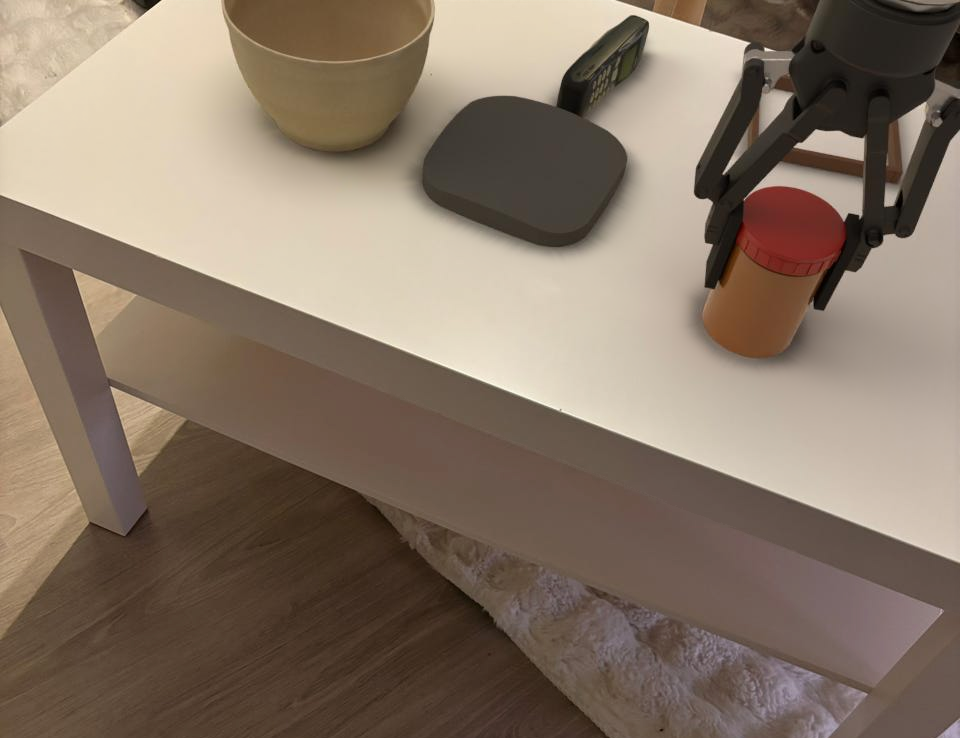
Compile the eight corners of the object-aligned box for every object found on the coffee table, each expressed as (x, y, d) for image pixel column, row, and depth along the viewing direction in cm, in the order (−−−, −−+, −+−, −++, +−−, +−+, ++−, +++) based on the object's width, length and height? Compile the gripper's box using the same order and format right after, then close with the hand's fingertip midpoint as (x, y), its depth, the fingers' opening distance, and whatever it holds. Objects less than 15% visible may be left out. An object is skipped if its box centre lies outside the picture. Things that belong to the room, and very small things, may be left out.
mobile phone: (586, 88, 85) (665, 6, 92) (555, 74, 86) (635, -6, 93) (576, 138, 89) (652, 56, 96) (547, 125, 90) (624, 44, 97)
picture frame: (886, 115, 95) (896, 95, 94) (892, 192, 89) (903, 172, 87) (747, 88, 95) (754, 68, 94) (743, 163, 89) (751, 142, 87)
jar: (789, 308, 80) (840, 204, 71) (789, 374, 76) (843, 272, 67) (701, 290, 80) (742, 184, 71) (696, 355, 76) (738, 251, 68)
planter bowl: (448, 90, 91) (458, -31, 82) (396, 204, 82) (400, 83, 73) (275, 49, 92) (266, -76, 83) (205, 157, 83) (186, 31, 74)
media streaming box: (570, 268, 80) (577, 239, 77) (404, 202, 82) (406, 171, 80) (634, 165, 88) (642, 135, 85) (481, 107, 90) (484, 77, 87)
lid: (837, 214, 72) (846, 197, 71) (840, 286, 68) (849, 269, 67) (735, 193, 72) (741, 176, 71) (731, 264, 68) (738, 247, 67)
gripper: (1079, -26, 57) (898, 277, 76) (723, -94, 57) (632, 225, 76) (1101, 50, 53) (904, 351, 72) (718, -25, 53) (623, 295, 72)
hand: (764, 285), depth 74 cm, fingers closed on lid, 7 cm apart
